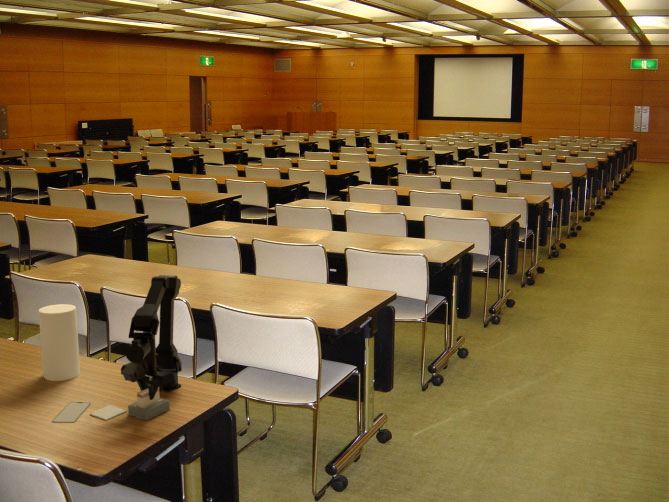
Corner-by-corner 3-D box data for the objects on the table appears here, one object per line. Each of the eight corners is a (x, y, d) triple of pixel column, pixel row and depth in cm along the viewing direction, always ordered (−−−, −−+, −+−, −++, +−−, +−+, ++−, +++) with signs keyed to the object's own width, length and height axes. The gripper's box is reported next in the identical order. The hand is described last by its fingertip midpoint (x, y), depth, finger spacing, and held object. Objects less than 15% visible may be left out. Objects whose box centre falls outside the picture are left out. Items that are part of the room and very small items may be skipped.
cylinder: (78, 379, 252) (73, 312, 247) (40, 382, 249) (35, 314, 244) (82, 367, 263) (77, 303, 259) (46, 370, 261) (41, 305, 256)
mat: (109, 406, 229) (109, 404, 229) (126, 411, 225) (126, 410, 225) (89, 414, 222) (89, 413, 222) (106, 420, 218) (106, 419, 218)
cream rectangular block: (154, 406, 228) (153, 385, 227) (160, 407, 227) (159, 387, 226) (137, 413, 222) (136, 392, 221) (143, 415, 221) (142, 394, 220)
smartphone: (50, 421, 217) (69, 402, 231) (50, 423, 217) (69, 403, 231) (74, 422, 216) (91, 402, 231) (74, 424, 217) (92, 404, 231)
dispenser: (152, 403, 231) (151, 394, 230) (169, 409, 227) (169, 399, 226) (128, 414, 223) (127, 404, 222) (146, 420, 219) (145, 410, 218)
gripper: (105, 353, 219) (108, 400, 222) (147, 365, 209) (149, 414, 212) (133, 344, 228) (135, 389, 231) (174, 354, 218) (176, 402, 221)
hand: (148, 398), depth 224 cm, fingers closed on cream rectangular block, 2 cm apart
